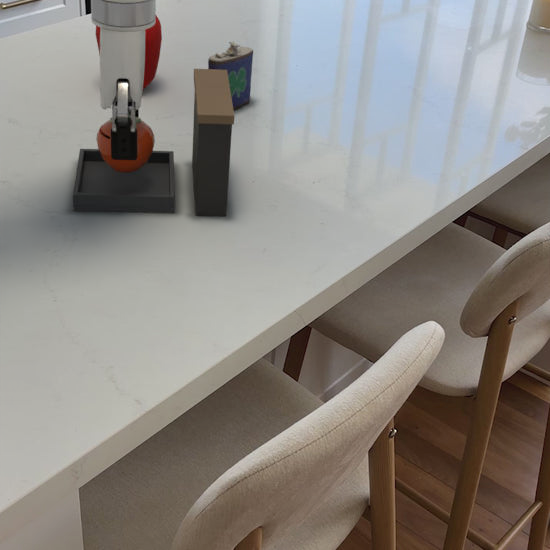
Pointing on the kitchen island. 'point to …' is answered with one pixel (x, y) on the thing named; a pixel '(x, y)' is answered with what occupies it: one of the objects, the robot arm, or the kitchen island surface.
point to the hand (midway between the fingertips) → (125, 143)
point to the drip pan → (124, 185)
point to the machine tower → (211, 141)
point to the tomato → (143, 146)
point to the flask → (236, 72)
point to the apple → (147, 50)
